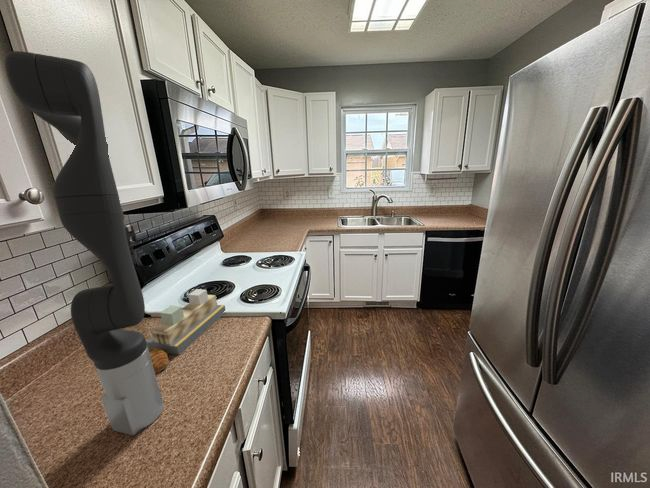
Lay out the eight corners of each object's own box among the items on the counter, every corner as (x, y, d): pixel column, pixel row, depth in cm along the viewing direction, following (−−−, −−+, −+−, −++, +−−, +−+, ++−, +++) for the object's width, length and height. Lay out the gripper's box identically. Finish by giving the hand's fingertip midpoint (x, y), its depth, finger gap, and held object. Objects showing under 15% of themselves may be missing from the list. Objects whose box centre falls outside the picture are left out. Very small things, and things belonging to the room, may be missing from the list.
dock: (179, 354, 81) (176, 346, 81) (148, 349, 84) (145, 341, 83) (226, 312, 105) (224, 305, 104) (200, 309, 108) (199, 302, 107)
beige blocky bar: (170, 344, 82) (166, 331, 80) (154, 342, 83) (151, 329, 82) (217, 305, 104) (215, 295, 103) (204, 304, 105) (202, 294, 104)
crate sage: (173, 324, 84) (171, 314, 83) (162, 323, 85) (159, 312, 84) (184, 317, 88) (181, 306, 87) (173, 315, 89) (170, 305, 88)
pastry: (176, 363, 78) (173, 353, 77) (151, 379, 73) (148, 368, 72) (161, 352, 83) (158, 342, 82) (137, 366, 78) (134, 355, 77)
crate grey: (200, 305, 95) (198, 295, 94) (190, 304, 96) (187, 294, 95) (208, 299, 100) (206, 289, 98) (198, 298, 101) (196, 289, 100)
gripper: (73, 207, 75) (89, 260, 80) (111, 207, 72) (126, 262, 76) (100, 204, 82) (114, 252, 87) (135, 203, 79) (148, 254, 83)
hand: (119, 257), depth 81 cm, fingers open, 8 cm apart
